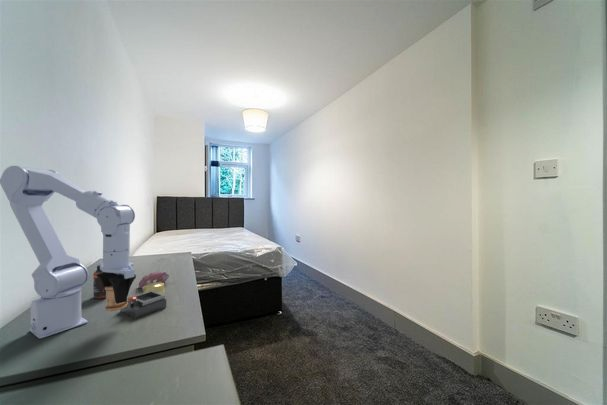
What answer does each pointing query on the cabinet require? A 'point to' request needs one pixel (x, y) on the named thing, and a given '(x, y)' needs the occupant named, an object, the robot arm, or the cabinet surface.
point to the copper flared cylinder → (113, 300)
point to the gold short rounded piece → (154, 287)
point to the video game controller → (154, 278)
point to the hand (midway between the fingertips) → (116, 300)
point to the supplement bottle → (98, 285)
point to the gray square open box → (144, 304)
